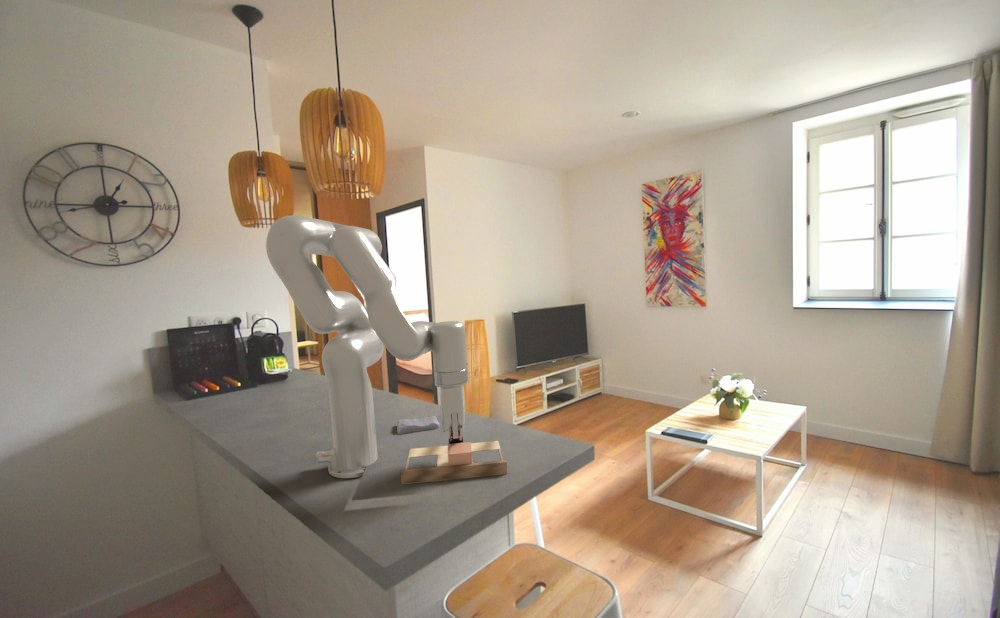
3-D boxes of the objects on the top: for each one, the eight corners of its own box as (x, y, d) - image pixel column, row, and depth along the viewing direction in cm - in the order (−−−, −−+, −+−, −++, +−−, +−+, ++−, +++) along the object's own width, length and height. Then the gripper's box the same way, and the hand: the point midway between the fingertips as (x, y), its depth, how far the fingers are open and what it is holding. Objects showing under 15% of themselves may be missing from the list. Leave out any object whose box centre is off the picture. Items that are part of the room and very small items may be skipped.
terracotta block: (449, 476, 91) (447, 454, 90) (449, 465, 96) (448, 443, 95) (472, 474, 92) (471, 452, 91) (471, 463, 97) (470, 441, 96)
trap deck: (402, 490, 89) (400, 472, 89) (410, 454, 107) (409, 439, 107) (507, 480, 91) (506, 462, 91) (498, 446, 109) (497, 431, 109)
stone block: (395, 435, 126) (397, 440, 116) (395, 418, 126) (396, 422, 117) (436, 430, 129) (441, 435, 120) (435, 414, 130) (440, 417, 120)
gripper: (435, 370, 103) (440, 445, 105) (434, 387, 89) (440, 472, 90) (466, 368, 104) (471, 441, 106) (470, 383, 90) (475, 468, 91)
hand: (456, 455), depth 98 cm, fingers closed
